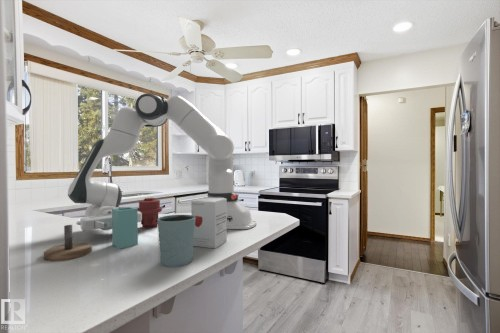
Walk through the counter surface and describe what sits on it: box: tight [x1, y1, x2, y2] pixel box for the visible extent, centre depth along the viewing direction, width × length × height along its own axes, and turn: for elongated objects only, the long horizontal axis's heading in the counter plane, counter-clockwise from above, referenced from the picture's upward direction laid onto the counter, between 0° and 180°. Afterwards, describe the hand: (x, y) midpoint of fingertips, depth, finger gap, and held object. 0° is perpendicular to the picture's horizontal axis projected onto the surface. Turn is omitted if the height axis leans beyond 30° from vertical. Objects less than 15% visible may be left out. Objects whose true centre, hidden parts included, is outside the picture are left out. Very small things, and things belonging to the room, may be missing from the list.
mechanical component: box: [137, 197, 163, 230], centre depth 115 cm, size 12×10×10 cm
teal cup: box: [157, 214, 196, 268], centre depth 74 cm, size 10×10×12 cm
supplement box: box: [190, 196, 228, 249], centre depth 90 cm, size 9×9×15 cm
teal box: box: [111, 206, 139, 249], centre depth 90 cm, size 6×6×12 cm
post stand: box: [43, 224, 93, 262], centre depth 81 cm, size 12×12×8 cm
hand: (119, 223), depth 93 cm, fingers open, 8 cm apart
